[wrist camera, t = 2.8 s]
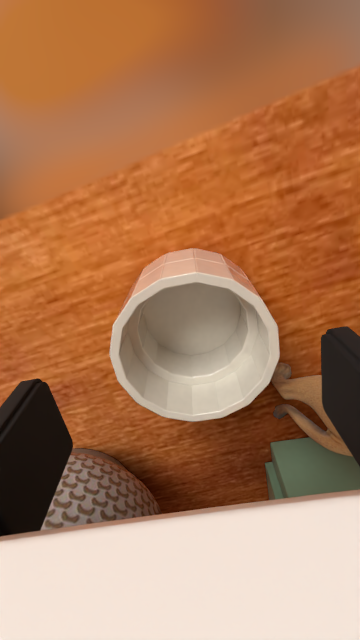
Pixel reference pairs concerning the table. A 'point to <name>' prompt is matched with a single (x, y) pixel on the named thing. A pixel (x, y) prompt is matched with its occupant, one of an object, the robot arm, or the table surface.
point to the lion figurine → (311, 395)
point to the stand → (308, 470)
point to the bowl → (194, 338)
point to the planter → (97, 492)
